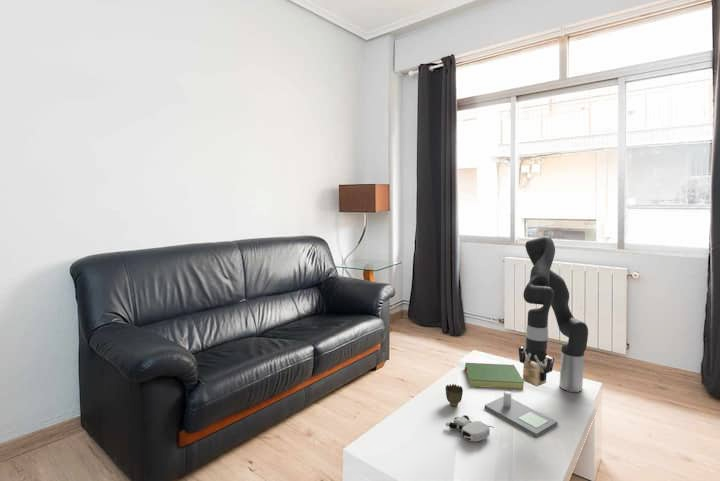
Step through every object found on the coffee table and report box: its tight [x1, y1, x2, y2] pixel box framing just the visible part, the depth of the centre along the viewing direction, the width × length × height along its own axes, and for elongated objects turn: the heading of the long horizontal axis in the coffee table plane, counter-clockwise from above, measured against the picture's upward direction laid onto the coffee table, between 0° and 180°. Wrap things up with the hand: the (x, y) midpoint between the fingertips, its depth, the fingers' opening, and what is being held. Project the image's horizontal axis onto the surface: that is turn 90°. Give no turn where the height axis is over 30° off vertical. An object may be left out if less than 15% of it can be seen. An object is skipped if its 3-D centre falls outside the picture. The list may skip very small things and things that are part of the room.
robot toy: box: [445, 414, 495, 442], centre depth 150 cm, size 12×4×15 cm
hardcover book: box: [464, 362, 525, 390], centre depth 194 cm, size 25×19×4 cm
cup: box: [445, 383, 464, 408], centre depth 169 cm, size 8×7×8 cm
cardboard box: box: [522, 361, 548, 387], centre depth 153 cm, size 6×6×6 cm
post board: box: [484, 391, 559, 438], centre depth 160 cm, size 14×24×8 cm, turn 33°
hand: (534, 377), depth 154 cm, fingers closed on cardboard box, 6 cm apart
